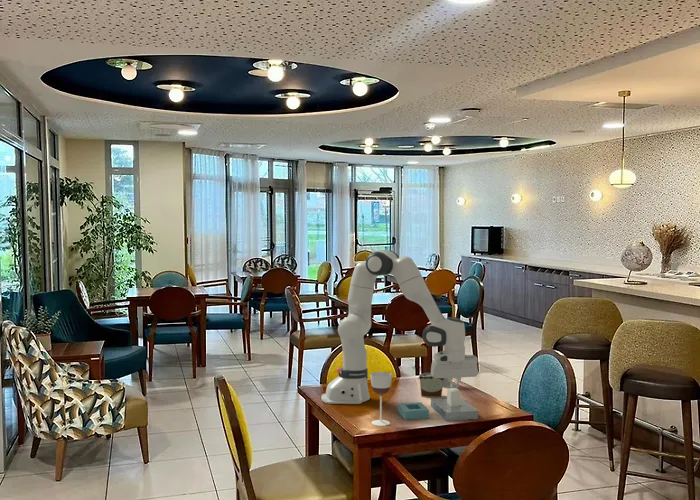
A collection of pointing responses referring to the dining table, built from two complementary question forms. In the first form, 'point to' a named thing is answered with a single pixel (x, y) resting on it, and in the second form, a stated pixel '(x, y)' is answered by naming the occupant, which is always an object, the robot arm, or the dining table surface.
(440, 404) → the box
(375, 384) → the wineglass
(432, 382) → the food container
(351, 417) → the dining table surface
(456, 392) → the plug
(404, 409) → the teal socket base
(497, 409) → the dining table surface
